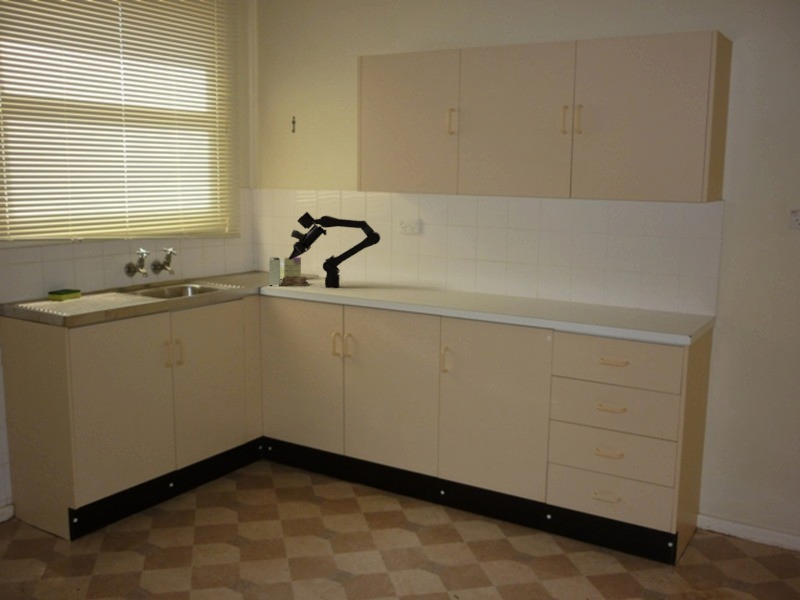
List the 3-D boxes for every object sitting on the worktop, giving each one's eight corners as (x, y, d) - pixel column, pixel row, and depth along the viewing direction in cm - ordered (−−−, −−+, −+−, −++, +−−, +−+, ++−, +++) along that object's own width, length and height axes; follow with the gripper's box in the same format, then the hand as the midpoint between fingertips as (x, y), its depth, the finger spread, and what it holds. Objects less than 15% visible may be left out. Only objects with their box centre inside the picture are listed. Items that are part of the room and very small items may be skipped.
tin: (279, 285, 401) (280, 257, 399) (279, 286, 396) (279, 258, 394) (269, 284, 400) (270, 257, 398) (269, 286, 396) (269, 258, 393)
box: (295, 278, 428) (295, 256, 427) (300, 279, 424) (301, 257, 422) (278, 279, 422) (278, 257, 420) (283, 280, 418) (284, 258, 416)
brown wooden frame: (307, 283, 409) (308, 276, 409) (304, 286, 400) (304, 279, 399) (284, 282, 410) (284, 275, 410) (280, 285, 400) (280, 278, 400)
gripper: (303, 223, 405) (282, 245, 407) (297, 225, 387) (275, 248, 389) (319, 238, 406) (298, 260, 408) (314, 241, 387) (292, 264, 390)
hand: (290, 258), depth 399 cm, fingers open, 9 cm apart
